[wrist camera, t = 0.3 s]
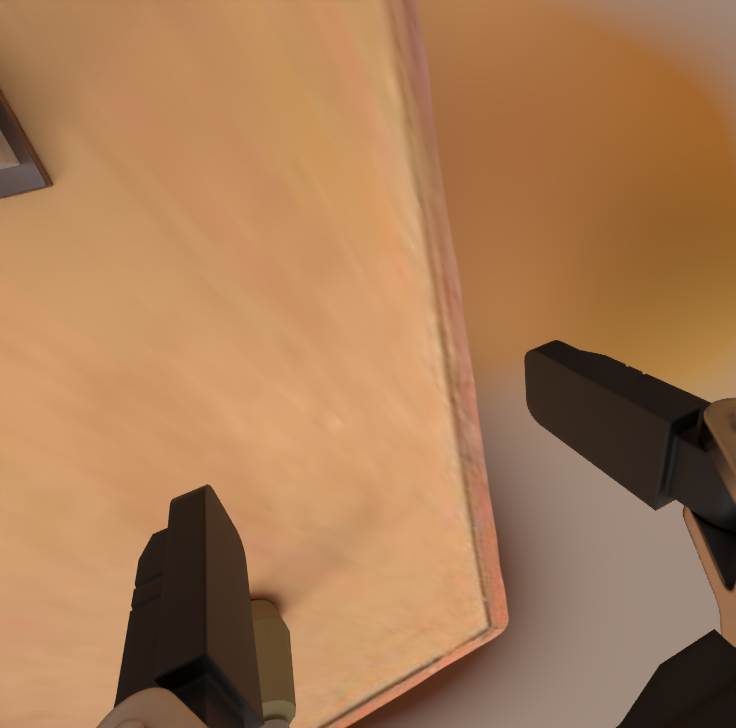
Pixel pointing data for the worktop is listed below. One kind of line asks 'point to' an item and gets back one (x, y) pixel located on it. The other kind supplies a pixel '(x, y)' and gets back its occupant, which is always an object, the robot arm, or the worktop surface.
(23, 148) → the book rack
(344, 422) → the worktop surface
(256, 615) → the squeeze bottle
